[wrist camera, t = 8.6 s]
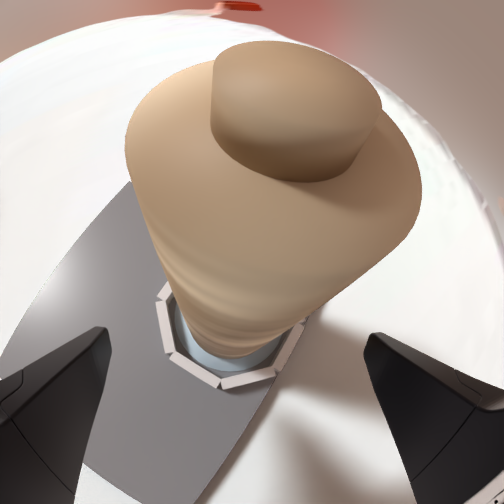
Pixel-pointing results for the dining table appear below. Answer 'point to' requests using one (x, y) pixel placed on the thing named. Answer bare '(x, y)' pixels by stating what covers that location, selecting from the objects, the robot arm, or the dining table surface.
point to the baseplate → (145, 362)
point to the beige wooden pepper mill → (267, 188)
